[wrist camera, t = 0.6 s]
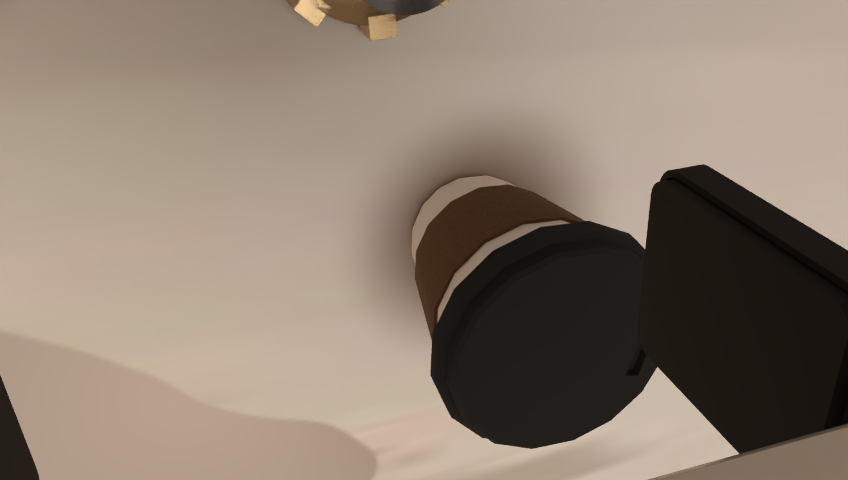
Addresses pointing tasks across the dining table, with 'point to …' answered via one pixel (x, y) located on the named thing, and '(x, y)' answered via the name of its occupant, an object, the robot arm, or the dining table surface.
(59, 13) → the dining table surface
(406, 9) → the gear
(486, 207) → the coffee cup
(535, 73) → the dining table surface
